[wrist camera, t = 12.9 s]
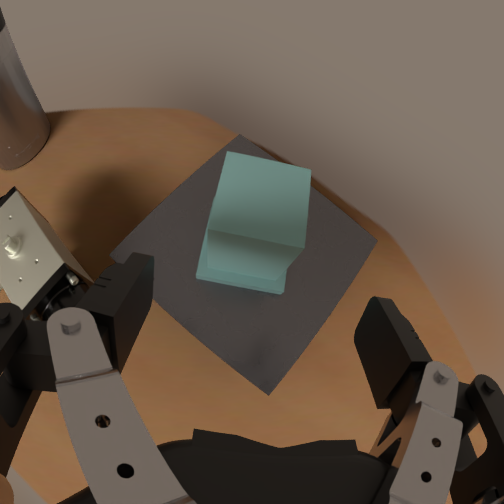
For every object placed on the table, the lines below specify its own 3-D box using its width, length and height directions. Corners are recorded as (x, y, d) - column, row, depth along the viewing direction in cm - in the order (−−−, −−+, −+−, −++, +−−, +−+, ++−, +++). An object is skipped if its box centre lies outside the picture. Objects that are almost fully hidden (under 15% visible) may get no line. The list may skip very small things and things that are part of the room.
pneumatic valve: (60, 230, 27) (1, 167, 16) (128, 312, 25) (75, 281, 14) (26, 266, 25) (-44, 220, 14) (90, 353, 24) (17, 348, 12)
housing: (196, 278, 22) (190, 239, 15) (216, 193, 25) (221, 129, 17) (280, 294, 23) (316, 264, 15) (291, 209, 25) (323, 152, 18)
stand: (124, 271, 27) (108, 255, 22) (234, 163, 32) (239, 134, 27) (257, 388, 25) (268, 395, 20) (354, 258, 30) (377, 240, 26)
